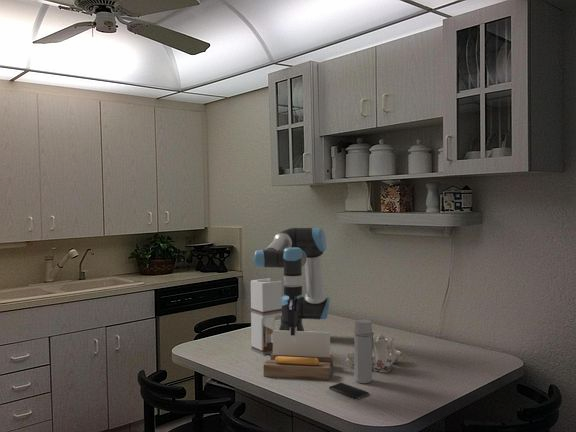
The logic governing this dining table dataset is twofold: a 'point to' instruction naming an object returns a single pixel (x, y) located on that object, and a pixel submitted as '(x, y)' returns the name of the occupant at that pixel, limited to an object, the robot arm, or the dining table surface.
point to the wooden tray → (299, 368)
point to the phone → (348, 391)
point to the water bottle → (363, 351)
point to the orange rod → (296, 360)
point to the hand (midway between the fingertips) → (293, 342)
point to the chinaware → (381, 355)
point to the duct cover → (302, 344)
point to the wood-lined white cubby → (264, 313)
